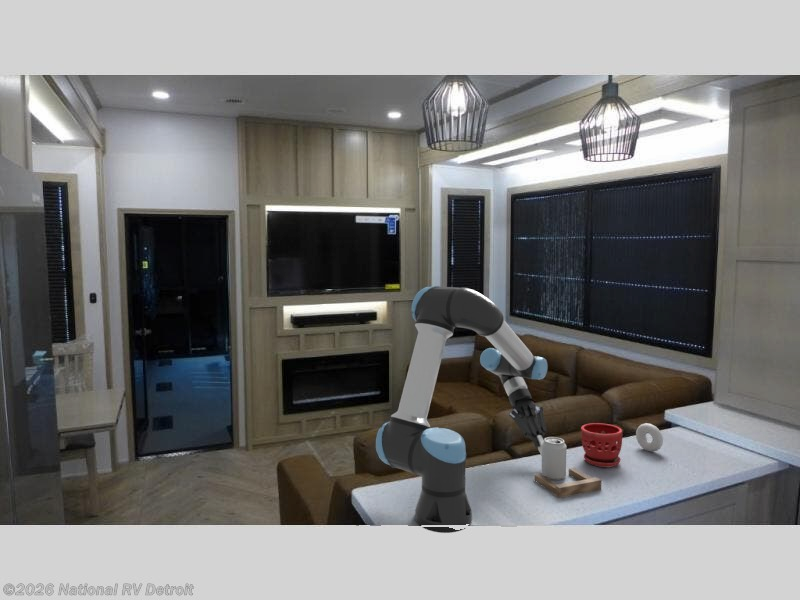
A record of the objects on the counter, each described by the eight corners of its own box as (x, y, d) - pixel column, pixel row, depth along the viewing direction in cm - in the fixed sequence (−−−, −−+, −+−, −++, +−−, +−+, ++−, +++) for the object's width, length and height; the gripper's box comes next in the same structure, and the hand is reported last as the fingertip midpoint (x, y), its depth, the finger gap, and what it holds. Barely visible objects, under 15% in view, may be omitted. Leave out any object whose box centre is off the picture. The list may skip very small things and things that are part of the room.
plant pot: (622, 458, 182) (623, 424, 181) (620, 472, 171) (621, 436, 169) (582, 452, 188) (583, 419, 187) (578, 466, 176) (579, 431, 175)
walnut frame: (559, 497, 153) (559, 488, 153) (534, 480, 165) (534, 471, 165) (601, 489, 158) (601, 480, 158) (573, 473, 170) (574, 464, 170)
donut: (633, 447, 192) (634, 420, 192) (639, 445, 194) (640, 419, 193) (658, 456, 184) (659, 428, 183) (664, 454, 185) (665, 426, 185)
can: (566, 482, 164) (567, 444, 163) (541, 480, 165) (542, 442, 164) (564, 472, 171) (565, 436, 170) (540, 470, 173) (541, 434, 172)
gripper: (529, 396, 191) (557, 457, 177) (497, 400, 187) (523, 463, 173) (538, 385, 186) (567, 447, 172) (506, 389, 181) (533, 453, 167)
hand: (545, 455), depth 172 cm, fingers closed
